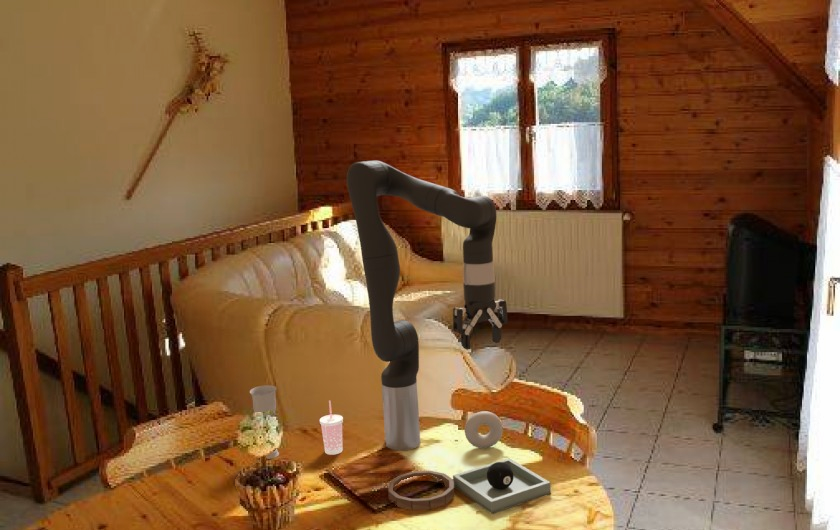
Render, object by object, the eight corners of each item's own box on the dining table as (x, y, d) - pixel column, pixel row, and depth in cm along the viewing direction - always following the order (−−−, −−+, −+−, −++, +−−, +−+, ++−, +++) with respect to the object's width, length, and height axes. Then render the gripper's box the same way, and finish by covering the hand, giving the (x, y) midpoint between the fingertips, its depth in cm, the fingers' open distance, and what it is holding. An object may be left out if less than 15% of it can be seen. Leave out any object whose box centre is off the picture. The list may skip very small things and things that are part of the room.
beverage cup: (350, 448, 215) (346, 398, 212) (335, 457, 210) (331, 406, 207) (332, 444, 218) (327, 395, 216) (317, 453, 213) (313, 402, 211)
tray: (453, 486, 190) (452, 475, 189) (509, 468, 197) (509, 458, 197) (491, 513, 176) (491, 501, 176) (550, 493, 184) (550, 482, 183)
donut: (466, 452, 208) (464, 415, 206) (464, 447, 212) (462, 410, 210) (504, 448, 209) (503, 412, 207) (502, 443, 213) (500, 407, 211)
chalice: (276, 461, 210) (270, 395, 206) (251, 460, 211) (245, 394, 208) (286, 449, 217) (280, 385, 213) (262, 448, 218) (256, 384, 215)
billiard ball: (496, 496, 183) (495, 471, 182) (482, 486, 188) (481, 461, 187) (518, 489, 185) (517, 464, 184) (504, 479, 191) (503, 455, 189)
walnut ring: (378, 490, 190) (377, 481, 190) (433, 473, 197) (433, 465, 197) (408, 516, 177) (407, 507, 177) (466, 497, 184) (466, 488, 184)
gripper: (494, 273, 200) (497, 336, 204) (445, 282, 194) (448, 347, 197) (512, 278, 194) (514, 343, 197) (461, 287, 187) (464, 354, 190)
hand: (481, 345), depth 197 cm, fingers open, 8 cm apart
